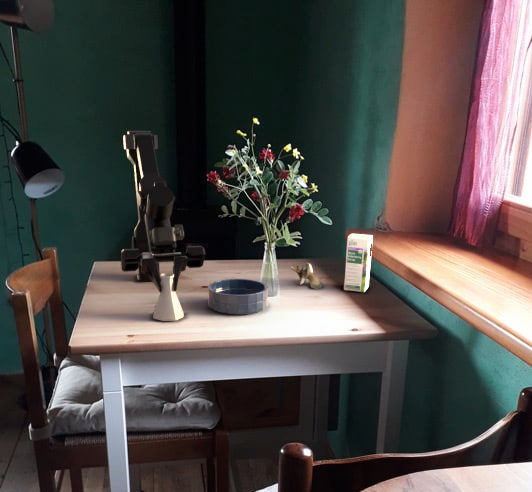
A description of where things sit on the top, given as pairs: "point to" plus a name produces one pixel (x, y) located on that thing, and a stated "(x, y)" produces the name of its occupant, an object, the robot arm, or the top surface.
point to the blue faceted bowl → (237, 296)
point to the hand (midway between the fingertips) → (168, 291)
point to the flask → (168, 301)
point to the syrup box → (358, 262)
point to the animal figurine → (308, 276)
